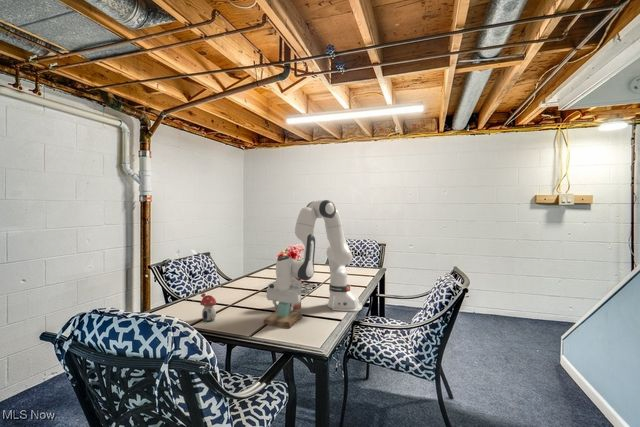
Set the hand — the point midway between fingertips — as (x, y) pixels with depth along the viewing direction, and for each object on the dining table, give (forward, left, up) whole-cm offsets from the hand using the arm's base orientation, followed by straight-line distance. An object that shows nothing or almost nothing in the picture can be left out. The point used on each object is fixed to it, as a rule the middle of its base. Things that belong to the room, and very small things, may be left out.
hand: (283, 309), depth 170 cm
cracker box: (+6, -21, -7) cm, 23 cm away
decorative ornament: (+41, +14, -7) cm, 44 cm away
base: (0, 0, -7) cm, 7 cm away
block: (0, -1, -4) cm, 4 cm away
